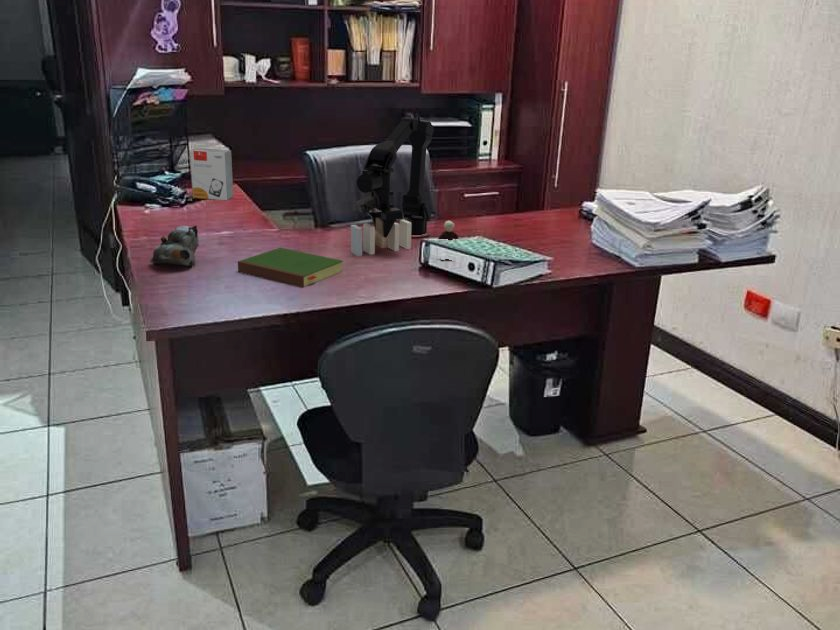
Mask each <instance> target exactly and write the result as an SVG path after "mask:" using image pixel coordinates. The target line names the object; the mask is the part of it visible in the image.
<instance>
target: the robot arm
mask: <svg viewBox="0 0 840 630" xmlns="http://www.w3.org/2000/svg"><path fill="white" fill-rule="evenodd" d="M434 132H435V128H434V125H433V124H432V122H431V121H427V120H420V119H417V118H415V117H401V119H400V121H399V124H398V125H397V126H396V127H395V128H394V130H393V131H392V132H391V133H390V135H389V136H387V138H386V139H385V140H384V141H382V142H380V143H377V144H376V145H375V146H374V147H372V148H371V150H370V152H369V155H368V157H367V160H366V162H365V165H364V167H363V170H362V171H361V172H362V173H361V174H360V175H359V176H358V177H357V180H356V186H357V188H358V191H360V192H361V193H363V194H367V193H369V195H367V196H364V197H362V198H360V199H358V200H357V201H355V205H356V208H357V211H358V212H359V213H362V214H367V215H368V216H369V217H371V221H372V224H373V225H372V226H374V227H375V232H376V218H377V217H378V218H379V219H380V221H381V222H382V228H383V236H384V238H385V237H387V238H388V234H389V232H390V230H391V228H392V226H393V224H394V223H395V222H396V221H397V220H404V219H406V221H409V222H411V223H412V225H411V235H422V234H425V233H427V230H428V222H429V221H430V220H431V219H432V215H433V213H432V211H431V209H430V208H429V206H428V198H427V195H426V193H425V192H424V184H425V171H426V158H427V149H428V146H429V145H430V143H431V142H432V140H433V134H434ZM406 140H408V141H409V144H410V146H411V158H410V172H409V186H408V191H407V192H406V193H405V194H403V196H402V204H401V208H402V209H400V208H398V207H394V204H393V203H391V199H392V196H393V195H394V191H393V190H392V173H394V172H395V169H394V168H392V166H393V165H394V163H395V162H396V160H397V159H398V155H397V152H398V151H399V150H400V148H401V147H402V146H403V144H404V143H405V142H406ZM427 234H428V233H427Z"/></svg>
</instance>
